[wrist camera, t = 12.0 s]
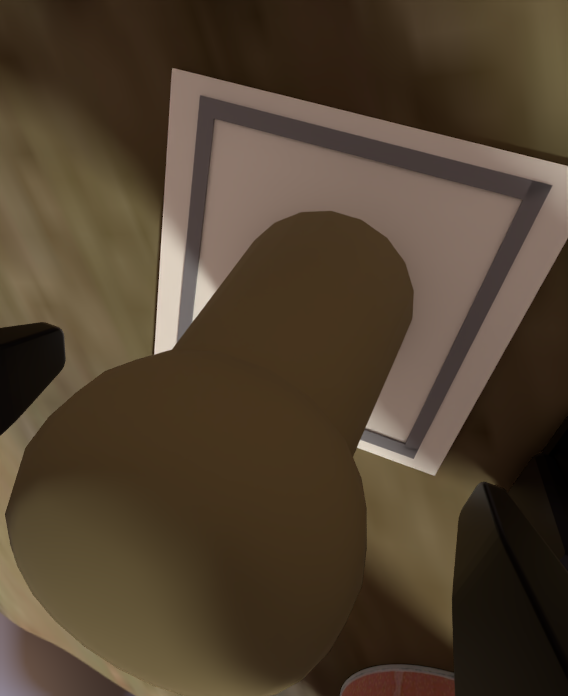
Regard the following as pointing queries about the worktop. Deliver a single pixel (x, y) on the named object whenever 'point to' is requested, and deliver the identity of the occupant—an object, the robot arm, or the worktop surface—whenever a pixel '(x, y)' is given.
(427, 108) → the worktop surface
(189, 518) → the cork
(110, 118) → the worktop surface
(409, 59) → the worktop surface
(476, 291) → the marked card
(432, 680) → the canned food
